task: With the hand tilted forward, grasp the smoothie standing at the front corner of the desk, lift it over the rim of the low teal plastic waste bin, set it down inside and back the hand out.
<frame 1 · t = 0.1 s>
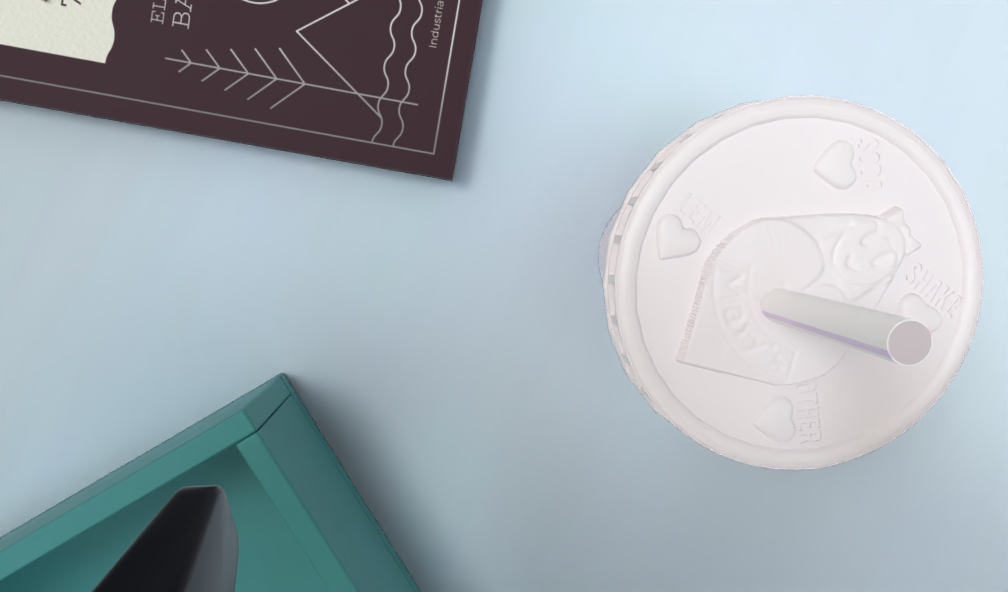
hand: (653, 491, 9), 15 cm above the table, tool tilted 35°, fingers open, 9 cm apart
smoothie: (663, 256, 24), on the table
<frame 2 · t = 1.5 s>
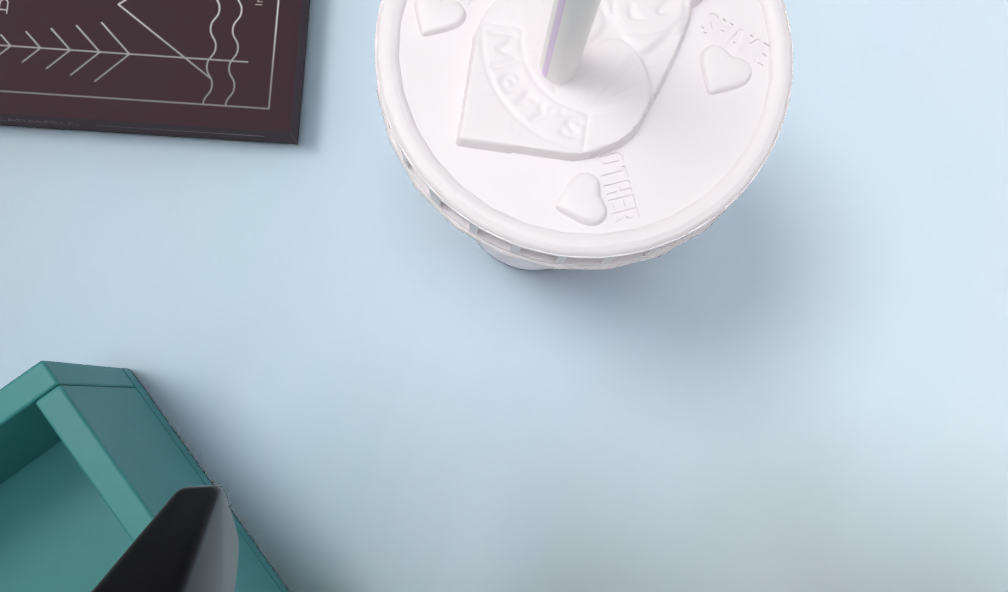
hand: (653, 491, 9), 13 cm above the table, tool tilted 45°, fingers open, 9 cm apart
smoothie: (533, 201, 23), on the table
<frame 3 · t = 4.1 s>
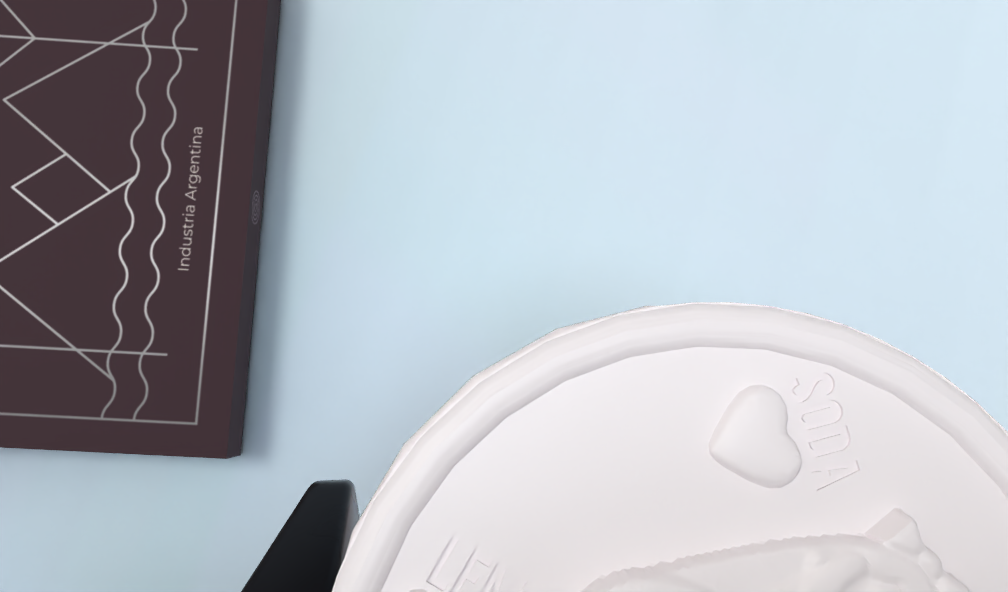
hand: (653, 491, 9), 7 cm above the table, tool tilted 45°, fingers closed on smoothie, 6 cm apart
smoothie: (571, 525, 16), on the table, touching gripper
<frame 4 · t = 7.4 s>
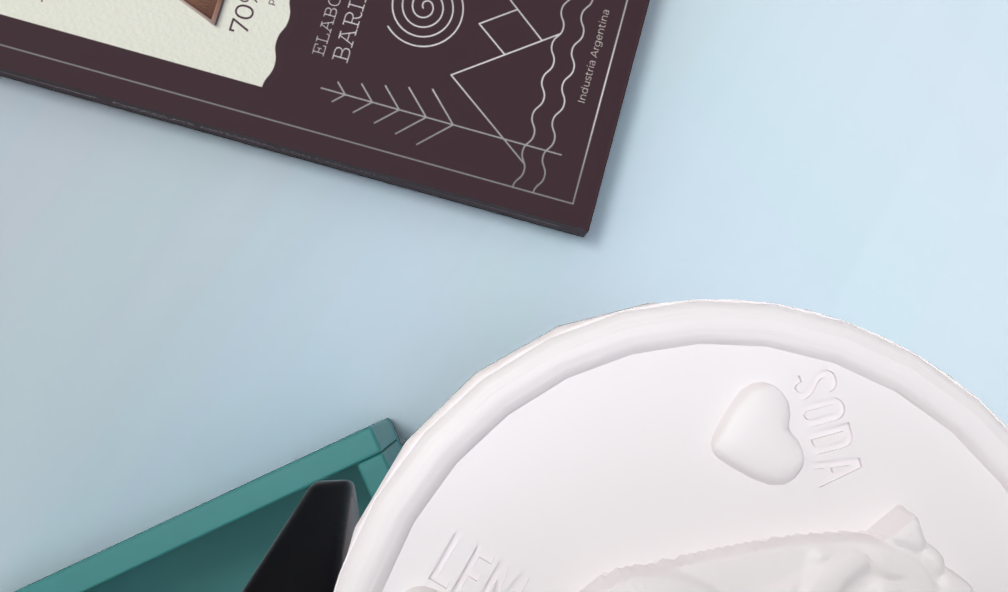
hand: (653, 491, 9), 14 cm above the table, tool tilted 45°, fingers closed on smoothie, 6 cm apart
smoothie: (571, 524, 16), point 6 cm above the table, touching gripper
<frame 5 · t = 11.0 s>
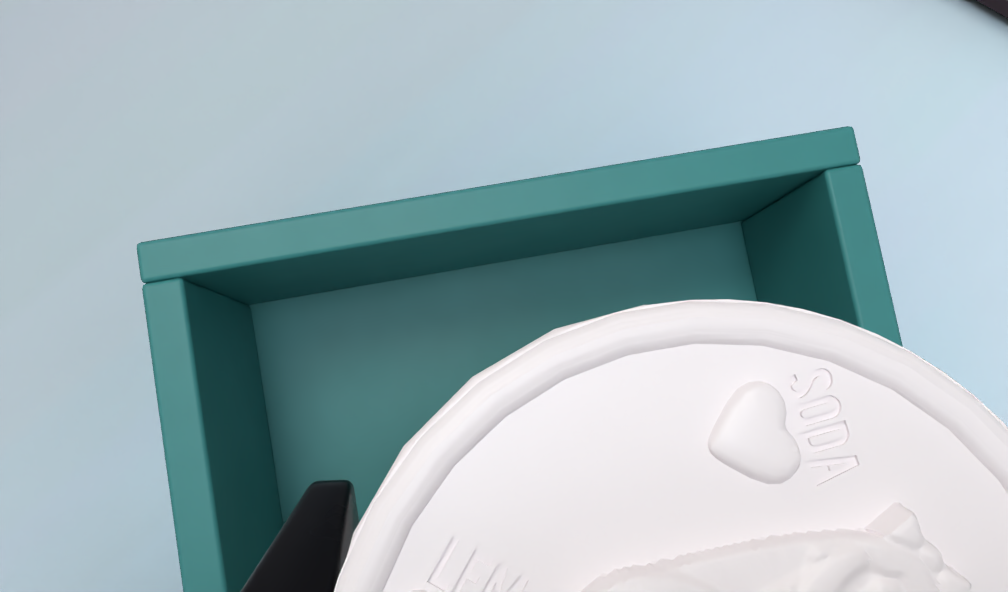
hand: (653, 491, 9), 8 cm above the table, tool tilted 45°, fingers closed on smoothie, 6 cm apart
bin: (554, 574, 16), on the table
smoothie: (572, 530, 16), resting on bin, touching gripper
when the fingers open (8 cm above the table, at t = 11.1 s): smoothie stays where it is, resting on bin.
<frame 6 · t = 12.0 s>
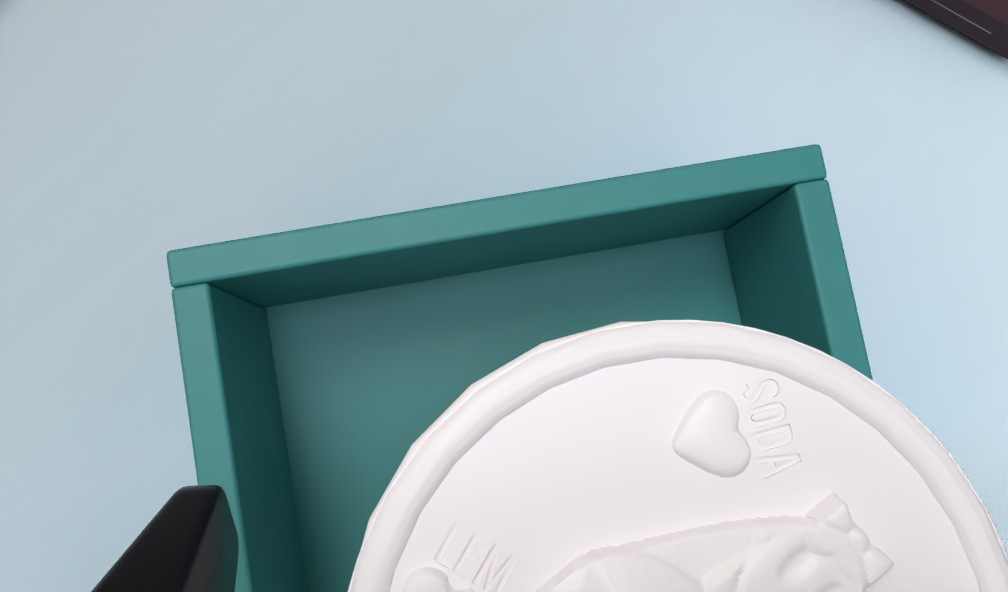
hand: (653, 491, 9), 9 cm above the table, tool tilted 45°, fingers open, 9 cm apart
bin: (548, 559, 18), on the table
smoothie: (564, 517, 17), resting on bin
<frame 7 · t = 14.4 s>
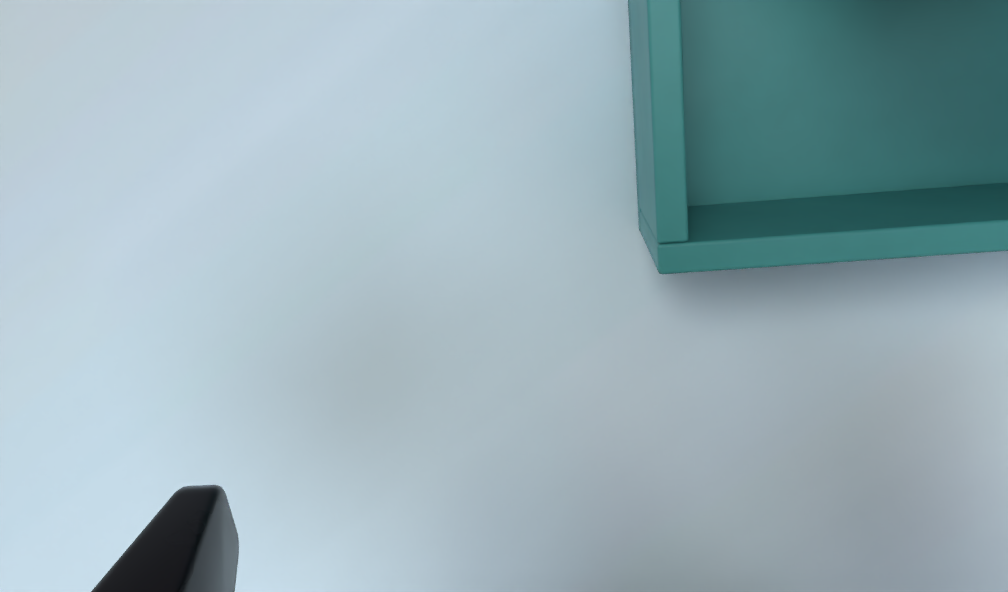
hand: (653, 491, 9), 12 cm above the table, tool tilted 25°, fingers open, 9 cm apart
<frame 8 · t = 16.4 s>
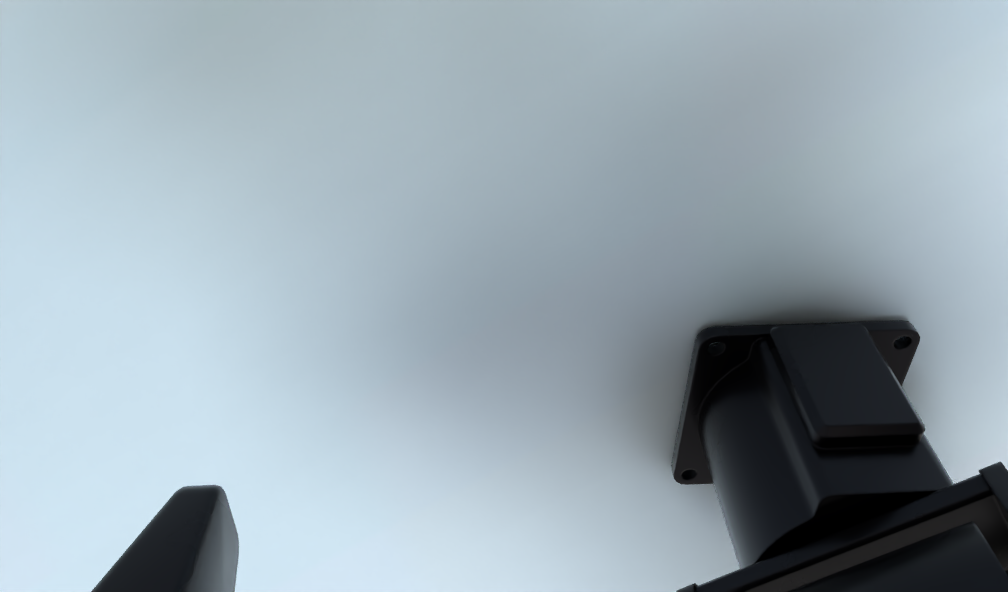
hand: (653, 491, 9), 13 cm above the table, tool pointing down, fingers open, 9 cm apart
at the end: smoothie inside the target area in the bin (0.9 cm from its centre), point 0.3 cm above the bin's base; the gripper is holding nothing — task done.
